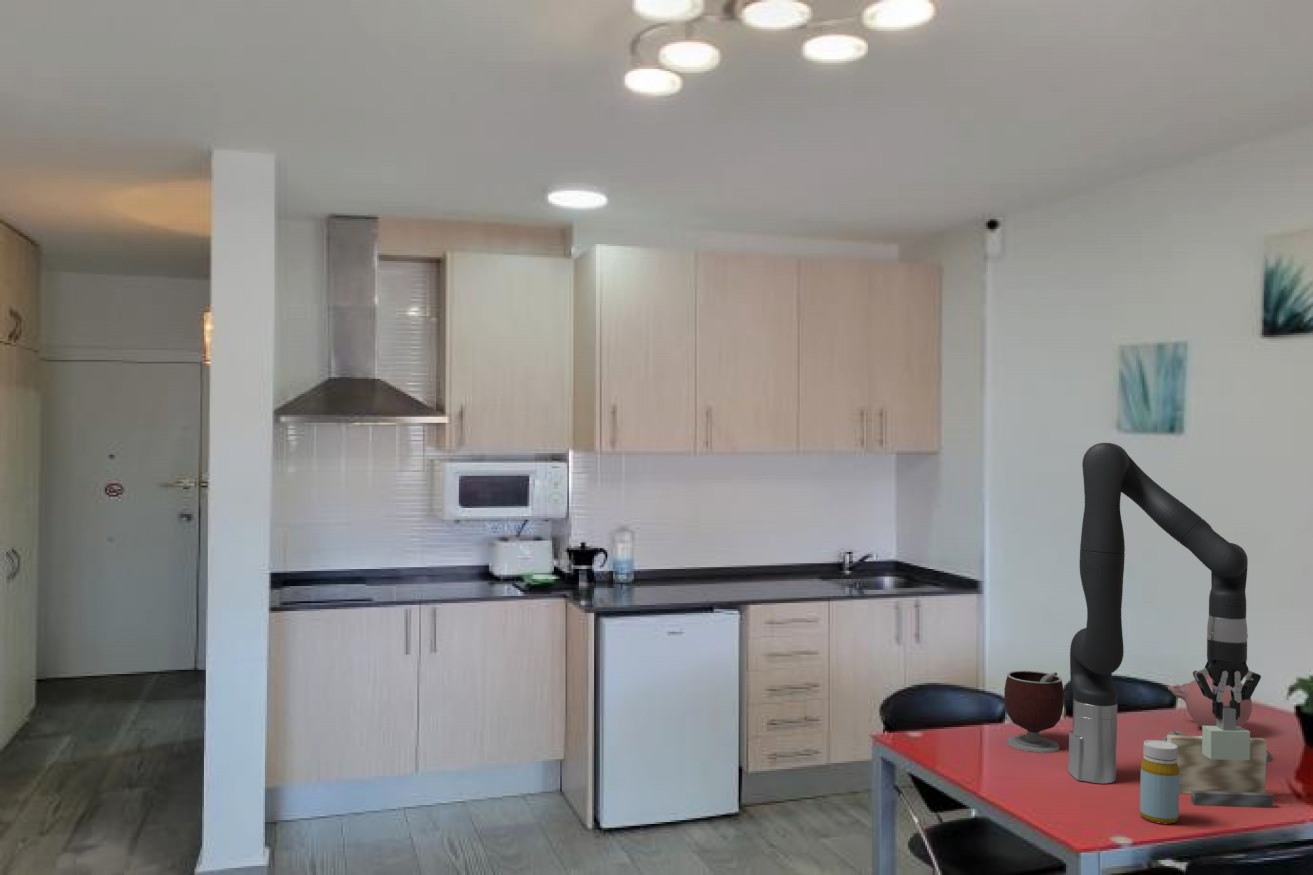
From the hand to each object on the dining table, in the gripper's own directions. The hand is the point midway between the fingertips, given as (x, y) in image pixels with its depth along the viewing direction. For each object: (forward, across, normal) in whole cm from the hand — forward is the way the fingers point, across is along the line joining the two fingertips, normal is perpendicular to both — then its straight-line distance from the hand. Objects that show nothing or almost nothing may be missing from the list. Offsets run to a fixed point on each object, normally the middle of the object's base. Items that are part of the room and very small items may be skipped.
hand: (1226, 718), depth 225 cm
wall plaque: (+18, -12, -31) cm, 38 cm away
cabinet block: (+8, 0, 0) cm, 8 cm away
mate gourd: (+17, +29, -35) cm, 49 cm away
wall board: (+17, 0, -1) cm, 17 cm away
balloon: (+18, -22, -55) cm, 62 cm away
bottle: (+17, +19, +13) cm, 29 cm away
